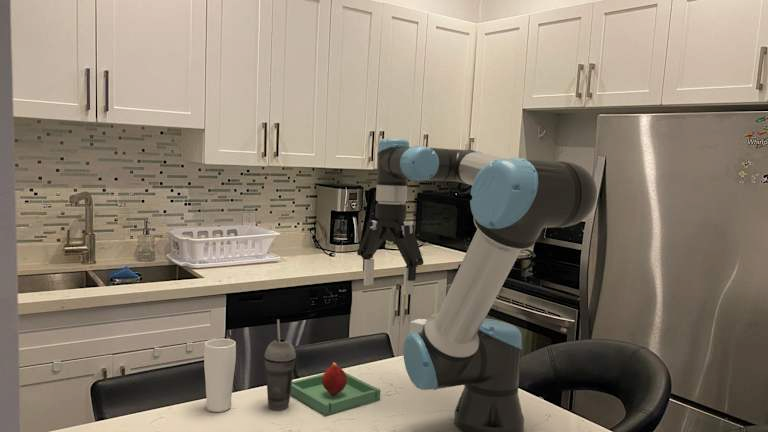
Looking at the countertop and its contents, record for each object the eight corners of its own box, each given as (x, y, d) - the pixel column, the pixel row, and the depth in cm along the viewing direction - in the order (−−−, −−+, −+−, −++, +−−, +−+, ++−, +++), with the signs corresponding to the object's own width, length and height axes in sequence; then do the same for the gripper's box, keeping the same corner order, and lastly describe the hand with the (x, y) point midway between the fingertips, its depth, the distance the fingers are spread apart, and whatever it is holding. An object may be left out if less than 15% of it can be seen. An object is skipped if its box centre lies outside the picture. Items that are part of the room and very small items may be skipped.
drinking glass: (217, 417, 130) (219, 349, 129) (196, 408, 134) (197, 343, 132) (240, 407, 136) (242, 342, 134) (219, 399, 139) (221, 336, 138)
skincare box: (420, 367, 168) (423, 324, 167) (406, 363, 171) (409, 321, 170) (431, 361, 173) (433, 320, 172) (417, 358, 176) (419, 317, 175)
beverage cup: (275, 416, 132) (278, 327, 130) (255, 405, 137) (258, 319, 135) (301, 407, 137) (304, 321, 135) (281, 397, 142) (284, 314, 140)
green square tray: (379, 399, 144) (380, 389, 144) (325, 416, 133) (325, 405, 133) (339, 379, 156) (339, 370, 156) (286, 392, 145) (286, 382, 145)
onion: (347, 391, 147) (348, 359, 146) (344, 400, 141) (345, 367, 140) (323, 389, 147) (325, 357, 147) (319, 398, 142) (320, 365, 141)
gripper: (440, 206, 140) (436, 296, 142) (366, 199, 158) (363, 279, 159) (419, 206, 135) (415, 300, 137) (345, 199, 152) (342, 282, 154)
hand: (387, 289), depth 148 cm, fingers open, 13 cm apart
